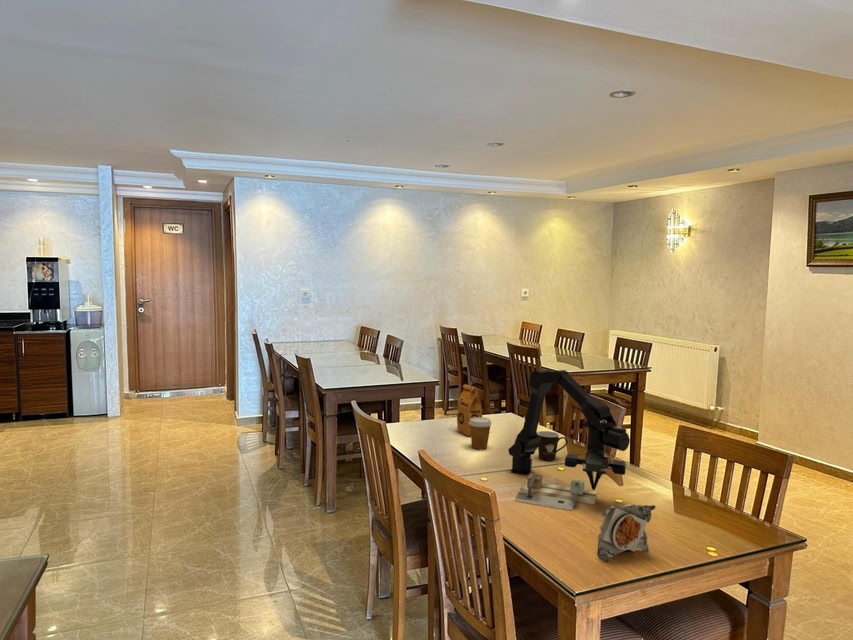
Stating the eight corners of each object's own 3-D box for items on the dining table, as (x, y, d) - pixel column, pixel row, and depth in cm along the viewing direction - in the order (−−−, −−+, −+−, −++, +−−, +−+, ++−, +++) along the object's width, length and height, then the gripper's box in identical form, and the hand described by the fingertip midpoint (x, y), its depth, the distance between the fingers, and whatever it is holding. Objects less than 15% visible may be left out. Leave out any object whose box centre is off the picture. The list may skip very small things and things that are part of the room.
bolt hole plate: (515, 501, 180) (515, 497, 180) (518, 494, 186) (519, 491, 186) (572, 510, 174) (572, 507, 173) (574, 503, 179) (574, 500, 179)
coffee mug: (534, 460, 221) (535, 435, 221) (538, 454, 229) (539, 430, 229) (564, 464, 217) (565, 439, 216) (567, 458, 225) (568, 433, 224)
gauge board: (516, 498, 182) (517, 483, 182) (524, 484, 195) (525, 470, 195) (593, 511, 174) (594, 496, 173) (596, 495, 186) (597, 481, 186)
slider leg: (567, 501, 176) (567, 491, 176) (571, 488, 188) (572, 479, 187) (580, 503, 175) (580, 493, 175) (584, 490, 186) (584, 481, 186)
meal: (608, 564, 141) (610, 513, 140) (596, 556, 145) (599, 507, 144) (653, 554, 147) (656, 505, 146) (641, 546, 151) (643, 499, 150)
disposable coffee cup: (494, 447, 237) (495, 419, 236) (484, 452, 229) (485, 423, 228) (474, 443, 242) (475, 415, 241) (463, 448, 234) (464, 420, 233)
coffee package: (464, 438, 250) (466, 389, 248) (454, 430, 261) (455, 384, 260) (485, 436, 253) (486, 388, 251) (474, 429, 265) (475, 383, 263)
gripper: (563, 445, 177) (561, 493, 179) (626, 453, 171) (623, 503, 172) (567, 436, 188) (565, 481, 189) (627, 444, 181) (624, 491, 182)
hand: (593, 489), depth 183 cm, fingers closed
